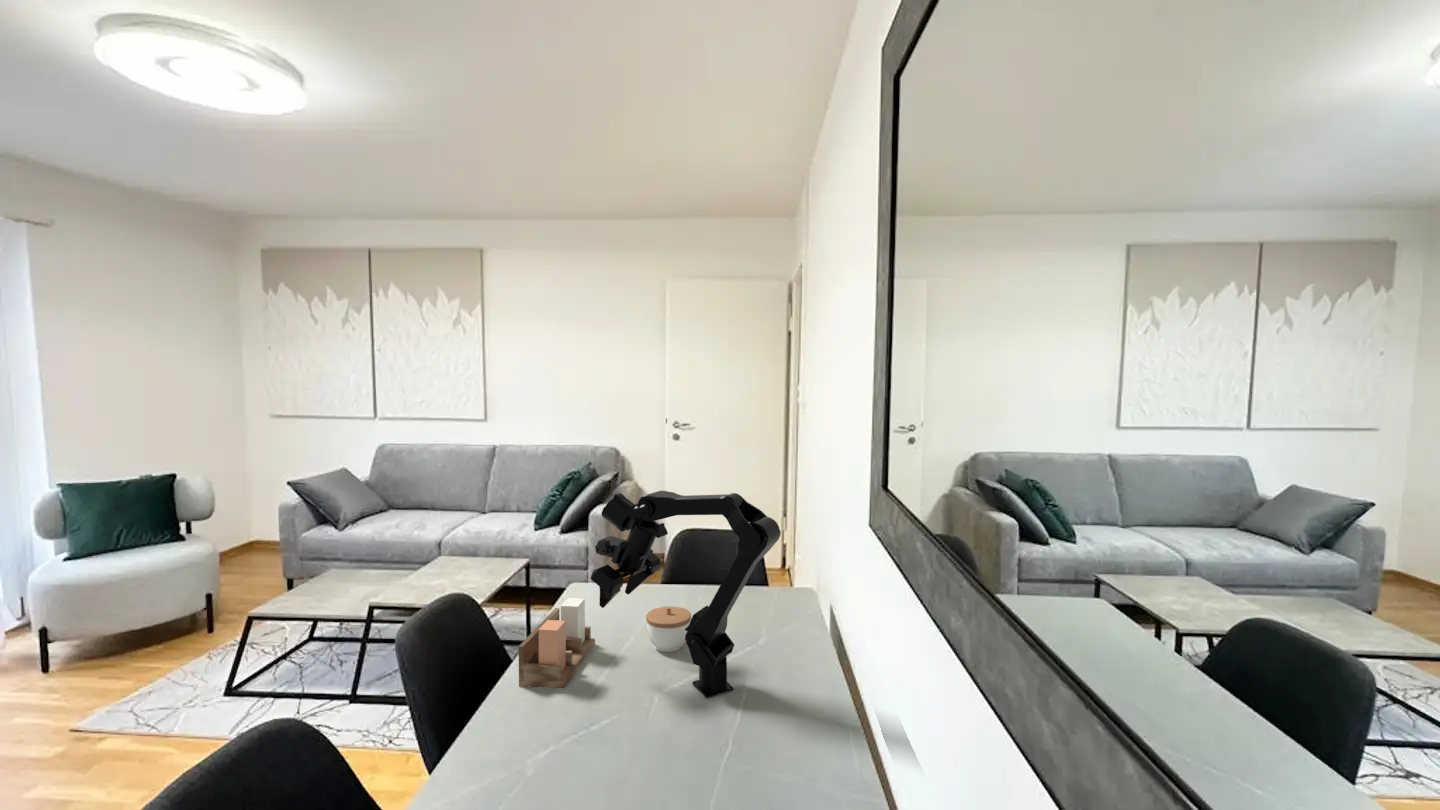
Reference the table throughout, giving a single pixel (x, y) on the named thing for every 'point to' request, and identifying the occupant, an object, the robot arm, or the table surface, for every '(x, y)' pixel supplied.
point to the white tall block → (574, 617)
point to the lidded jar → (667, 627)
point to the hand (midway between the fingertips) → (614, 599)
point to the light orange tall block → (552, 643)
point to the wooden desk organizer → (545, 673)
